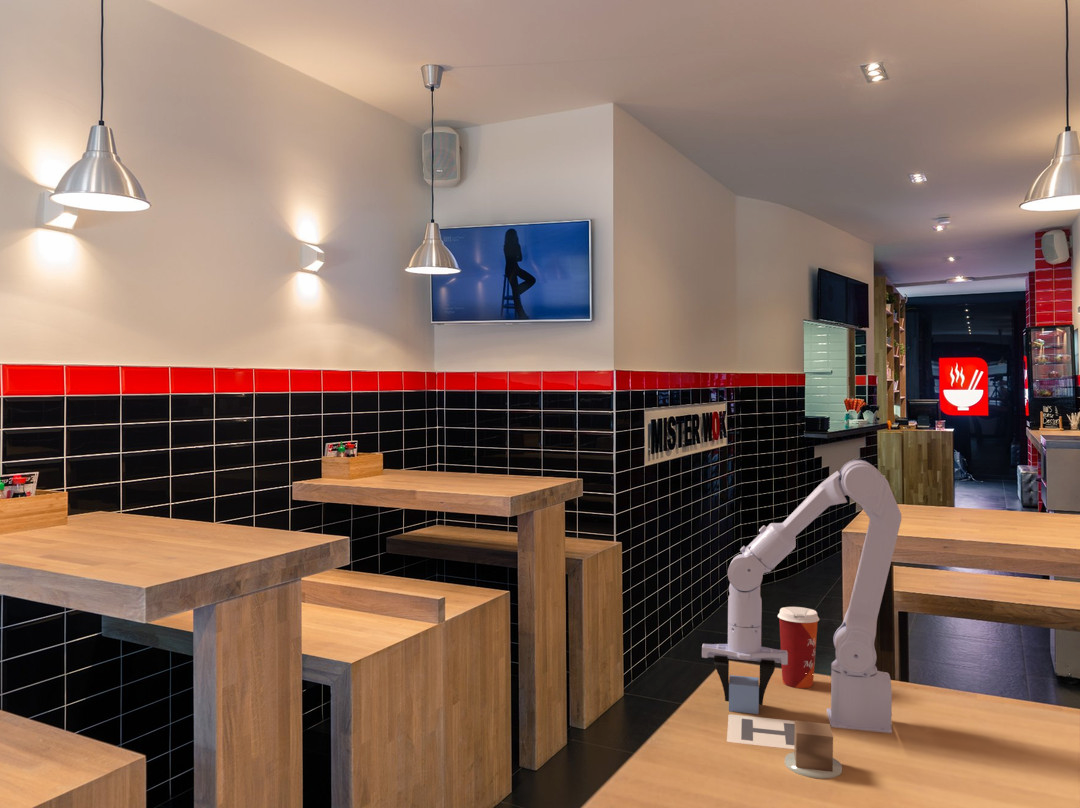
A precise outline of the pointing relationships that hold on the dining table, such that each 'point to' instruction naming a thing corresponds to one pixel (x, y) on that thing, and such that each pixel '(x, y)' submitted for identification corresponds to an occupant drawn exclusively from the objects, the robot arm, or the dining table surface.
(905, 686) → the dining table surface
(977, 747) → the dining table surface
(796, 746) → the walnut block
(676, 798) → the dining table surface
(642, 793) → the dining table surface
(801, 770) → the saucer
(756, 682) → the blue cube
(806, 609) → the paper cup
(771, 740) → the letter card
